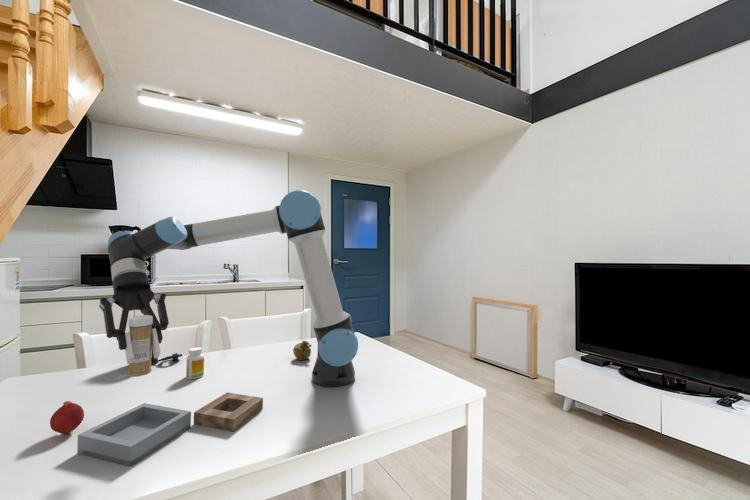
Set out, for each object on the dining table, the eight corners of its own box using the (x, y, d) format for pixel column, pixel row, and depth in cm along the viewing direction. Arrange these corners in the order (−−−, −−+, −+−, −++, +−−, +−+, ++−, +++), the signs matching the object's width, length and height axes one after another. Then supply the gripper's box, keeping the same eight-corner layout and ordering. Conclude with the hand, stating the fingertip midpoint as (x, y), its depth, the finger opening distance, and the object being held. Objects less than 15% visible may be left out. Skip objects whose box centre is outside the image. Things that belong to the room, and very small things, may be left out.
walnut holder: (262, 408, 89) (262, 397, 89) (233, 431, 78) (233, 419, 78) (226, 402, 92) (227, 392, 92) (193, 424, 81) (194, 412, 81)
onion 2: (311, 355, 136) (312, 336, 136) (311, 361, 128) (311, 342, 128) (293, 356, 134) (294, 337, 134) (292, 362, 126) (292, 342, 127)
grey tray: (190, 427, 79) (190, 411, 79) (130, 466, 64) (131, 446, 64) (143, 418, 83) (144, 403, 83) (77, 453, 68) (77, 434, 68)
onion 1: (65, 427, 78) (65, 395, 78) (90, 426, 78) (90, 394, 78) (42, 441, 72) (43, 406, 72) (69, 440, 73) (70, 406, 73)
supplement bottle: (207, 373, 113) (207, 346, 113) (197, 379, 108) (197, 351, 108) (193, 373, 114) (193, 346, 114) (182, 379, 108) (183, 350, 108)
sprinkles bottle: (154, 369, 77) (155, 314, 77) (147, 376, 72) (149, 317, 73) (131, 371, 75) (133, 315, 75) (123, 378, 71) (125, 318, 71)
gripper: (166, 286, 91) (183, 357, 79) (84, 291, 78) (90, 376, 67) (172, 269, 87) (190, 341, 76) (87, 270, 74) (94, 357, 63)
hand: (144, 357), depth 71 cm, fingers closed on sprinkles bottle, 4 cm apart
